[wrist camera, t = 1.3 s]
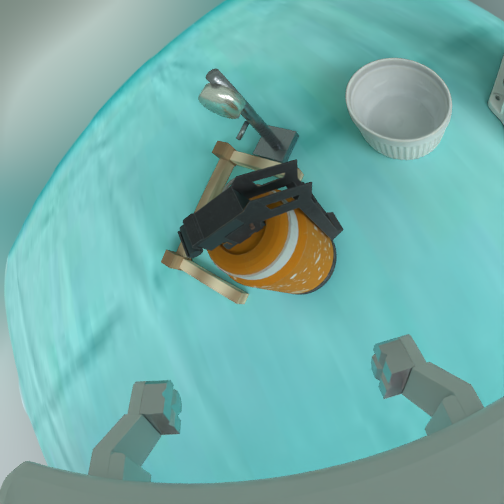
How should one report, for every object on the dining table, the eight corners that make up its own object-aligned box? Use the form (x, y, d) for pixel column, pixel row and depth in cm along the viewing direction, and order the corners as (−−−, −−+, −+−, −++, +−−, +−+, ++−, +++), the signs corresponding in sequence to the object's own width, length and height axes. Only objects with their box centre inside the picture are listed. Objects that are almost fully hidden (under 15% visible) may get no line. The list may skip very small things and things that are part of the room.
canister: (258, 247, 41) (151, 200, 24) (329, 201, 38) (262, 112, 20) (287, 307, 38) (184, 301, 20) (365, 262, 34) (328, 210, 17)
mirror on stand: (270, 129, 44) (206, 57, 29) (299, 135, 41) (241, 57, 26) (253, 163, 44) (180, 99, 29) (282, 171, 42) (214, 102, 27)
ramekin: (340, 108, 39) (327, 78, 33) (416, 78, 34) (413, 45, 28) (380, 184, 35) (374, 159, 29) (465, 149, 30) (473, 119, 24)
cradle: (304, 172, 40) (294, 160, 37) (243, 305, 41) (227, 304, 37) (231, 152, 46) (217, 140, 43) (178, 266, 47) (161, 262, 43)
